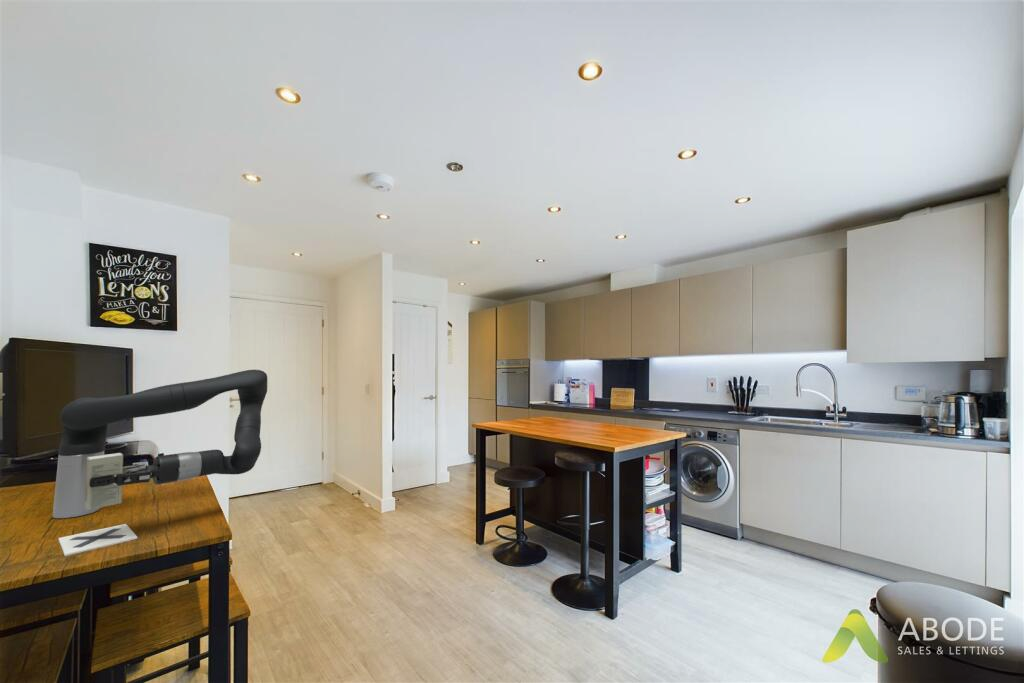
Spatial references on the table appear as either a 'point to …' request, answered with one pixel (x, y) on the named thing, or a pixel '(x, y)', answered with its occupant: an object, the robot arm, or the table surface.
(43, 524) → the table surface
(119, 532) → the letter card
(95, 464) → the skincare box
